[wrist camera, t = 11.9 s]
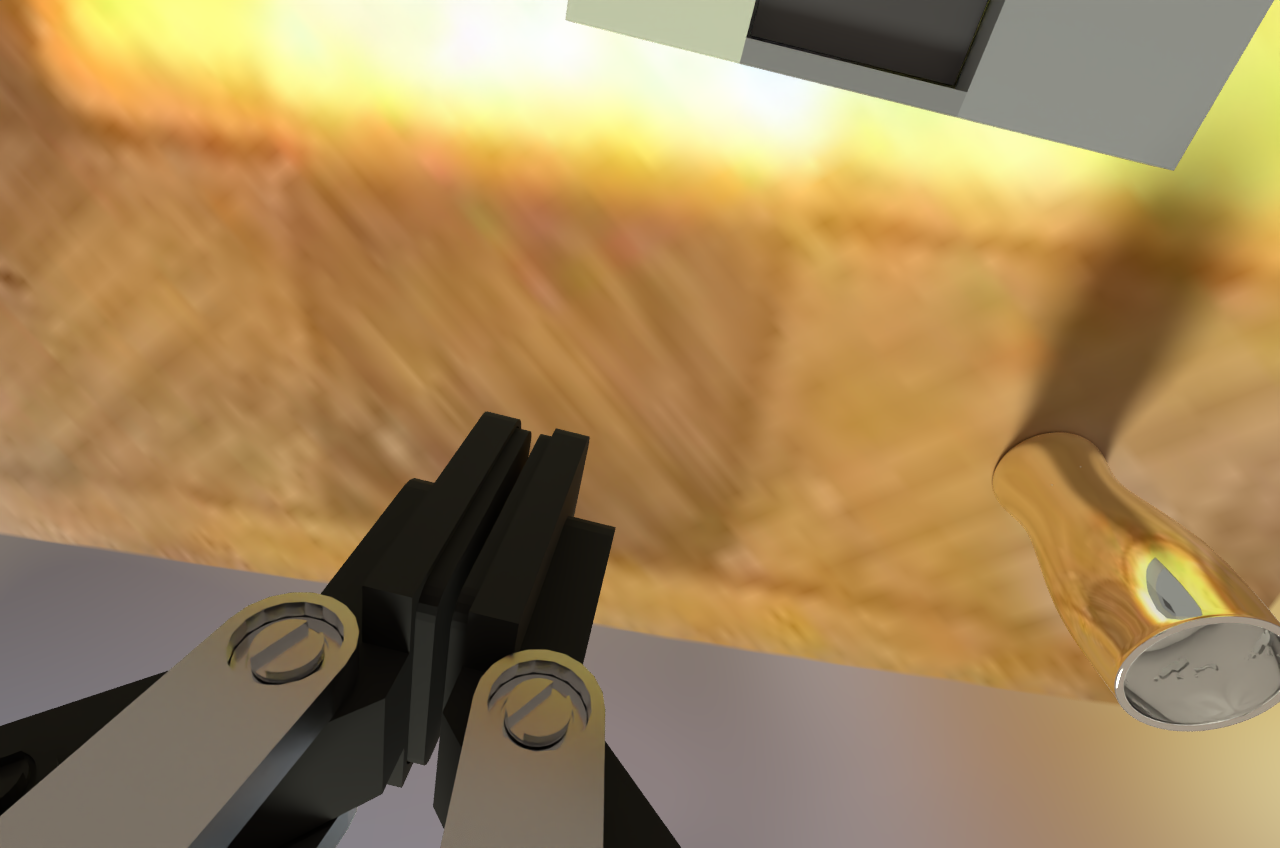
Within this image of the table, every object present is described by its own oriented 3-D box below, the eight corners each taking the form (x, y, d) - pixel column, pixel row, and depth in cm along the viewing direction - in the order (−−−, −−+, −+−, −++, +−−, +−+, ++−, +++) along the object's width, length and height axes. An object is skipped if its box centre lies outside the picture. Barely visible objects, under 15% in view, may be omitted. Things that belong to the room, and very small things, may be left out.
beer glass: (1136, 472, 38) (1349, 679, 25) (1032, 540, 41) (1175, 757, 28) (1060, 401, 37) (1245, 584, 24) (958, 478, 40) (1072, 677, 27)
